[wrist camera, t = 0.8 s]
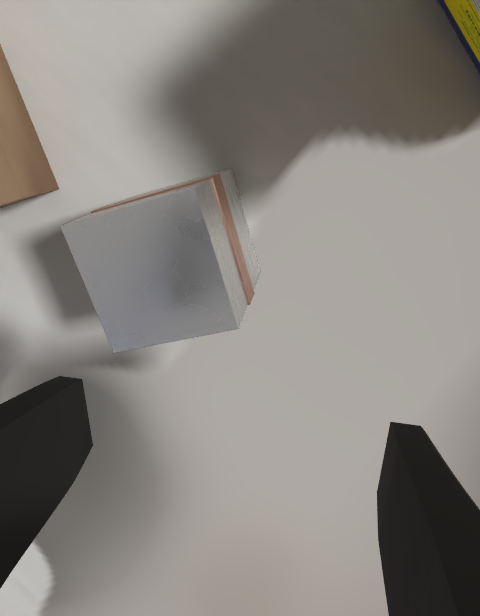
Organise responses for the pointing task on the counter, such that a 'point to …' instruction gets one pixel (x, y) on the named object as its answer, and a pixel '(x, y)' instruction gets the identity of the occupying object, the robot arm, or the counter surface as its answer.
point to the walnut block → (19, 146)
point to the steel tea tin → (167, 262)
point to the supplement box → (465, 24)
